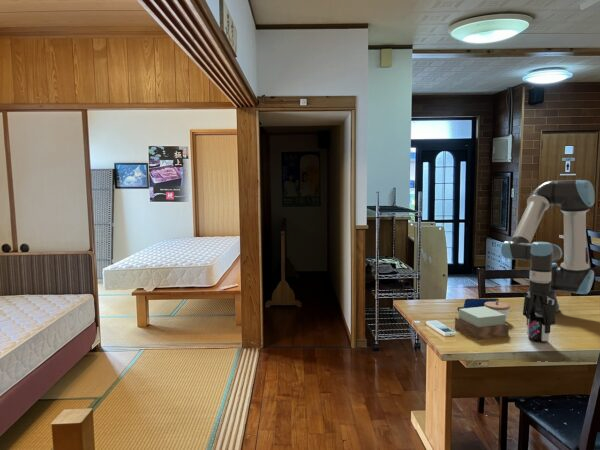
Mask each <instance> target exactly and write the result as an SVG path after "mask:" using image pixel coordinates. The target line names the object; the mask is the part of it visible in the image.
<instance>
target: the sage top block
mask: <svg viewBox="0 0 600 450" xmlns="http://www.w3.org/2000/svg"><path fill="white" fill-rule="evenodd" d="M458 317H459V318H460V319H462V320H464V321H466V322H469V323H471V324H473V325H475V326H477V327H486V326H495V325H504V324H505V323H506V320H507V319H506V315H505V314H502V313H500V312H497V311H495V310H492V309H490V308H487V307H485V306H483V307H473V308H463V309H459V310H458Z"/></svg>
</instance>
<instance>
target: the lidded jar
mask: <svg viewBox="0 0 600 450" xmlns="http://www.w3.org/2000/svg"><path fill="white" fill-rule="evenodd" d="M484 306H485V307H487V308H490V309H492V310H495V311H497V312H500V313H502V314H505V315H506V320H508V318H509V315H510V308H511V305H510V304H509V303H506V302H502V301H499V302H498V301H489V302H485V303H484Z"/></svg>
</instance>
